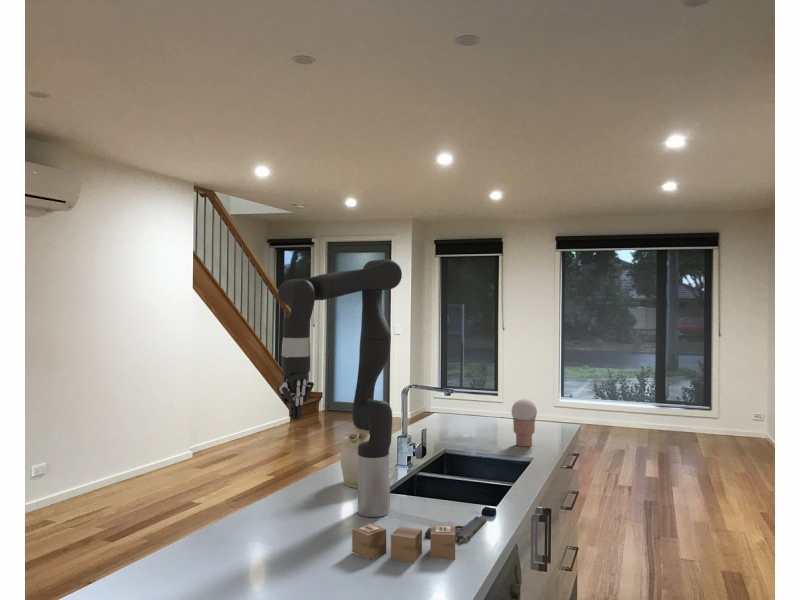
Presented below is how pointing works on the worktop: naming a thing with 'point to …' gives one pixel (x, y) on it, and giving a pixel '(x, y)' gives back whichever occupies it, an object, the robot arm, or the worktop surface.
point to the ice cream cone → (524, 421)
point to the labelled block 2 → (442, 542)
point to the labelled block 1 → (369, 540)
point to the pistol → (465, 529)
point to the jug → (352, 456)
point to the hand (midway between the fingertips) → (295, 419)
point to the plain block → (406, 544)
